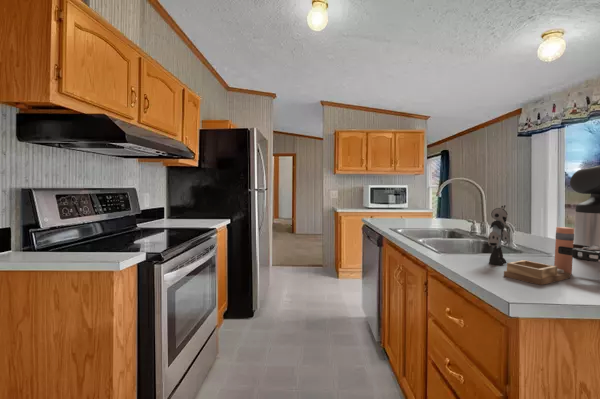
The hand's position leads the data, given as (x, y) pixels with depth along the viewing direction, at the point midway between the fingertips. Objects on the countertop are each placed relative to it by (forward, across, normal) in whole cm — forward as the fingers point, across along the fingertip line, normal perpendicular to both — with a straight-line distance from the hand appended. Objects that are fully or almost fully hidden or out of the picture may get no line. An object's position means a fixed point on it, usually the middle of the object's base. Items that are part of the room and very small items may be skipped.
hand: (565, 248), depth 107 cm
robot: (+17, +6, +8) cm, 20 cm away
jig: (+1, +13, +8) cm, 15 cm away
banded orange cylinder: (0, 0, +8) cm, 8 cm away
